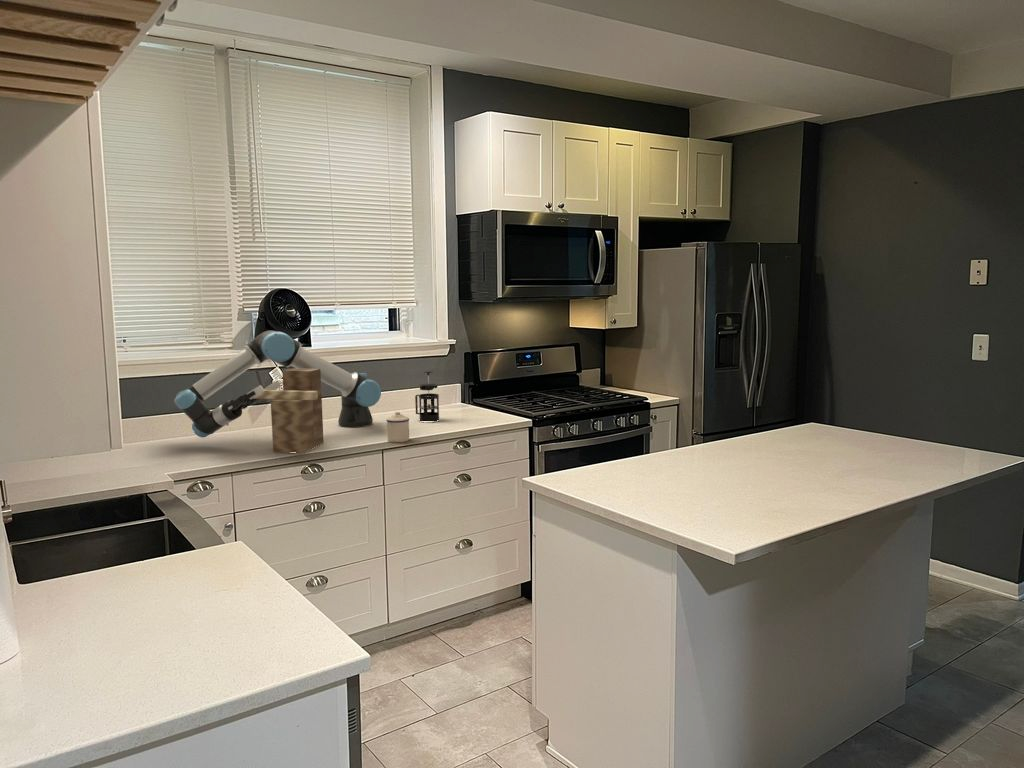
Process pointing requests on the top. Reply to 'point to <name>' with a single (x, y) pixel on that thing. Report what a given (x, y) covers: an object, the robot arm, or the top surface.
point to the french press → (426, 415)
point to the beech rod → (288, 395)
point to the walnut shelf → (298, 413)
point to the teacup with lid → (398, 428)
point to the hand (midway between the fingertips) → (270, 385)
